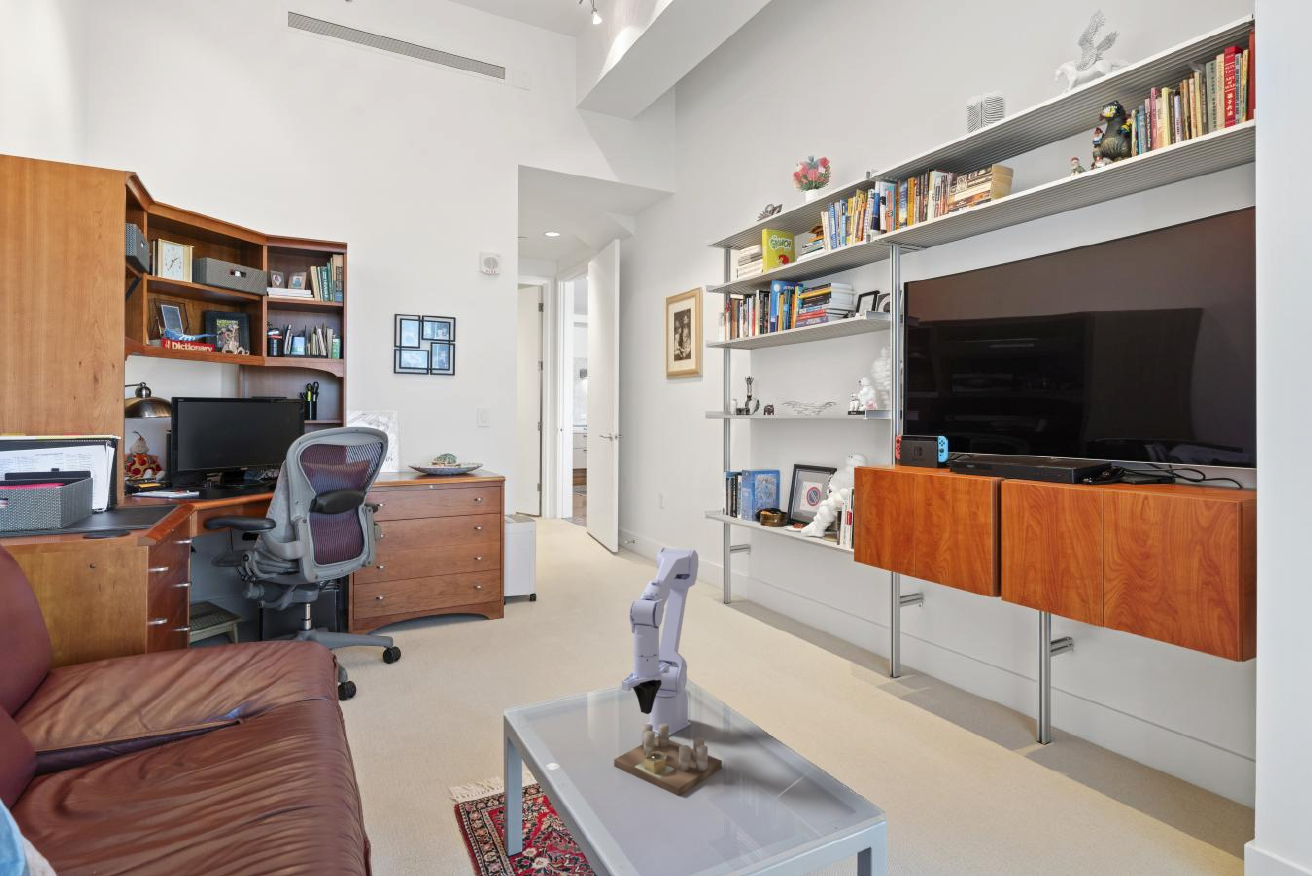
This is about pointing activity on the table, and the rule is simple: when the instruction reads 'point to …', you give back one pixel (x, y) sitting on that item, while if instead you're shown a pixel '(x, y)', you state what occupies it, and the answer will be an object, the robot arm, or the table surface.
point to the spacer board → (670, 761)
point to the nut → (655, 762)
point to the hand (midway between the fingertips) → (646, 712)
